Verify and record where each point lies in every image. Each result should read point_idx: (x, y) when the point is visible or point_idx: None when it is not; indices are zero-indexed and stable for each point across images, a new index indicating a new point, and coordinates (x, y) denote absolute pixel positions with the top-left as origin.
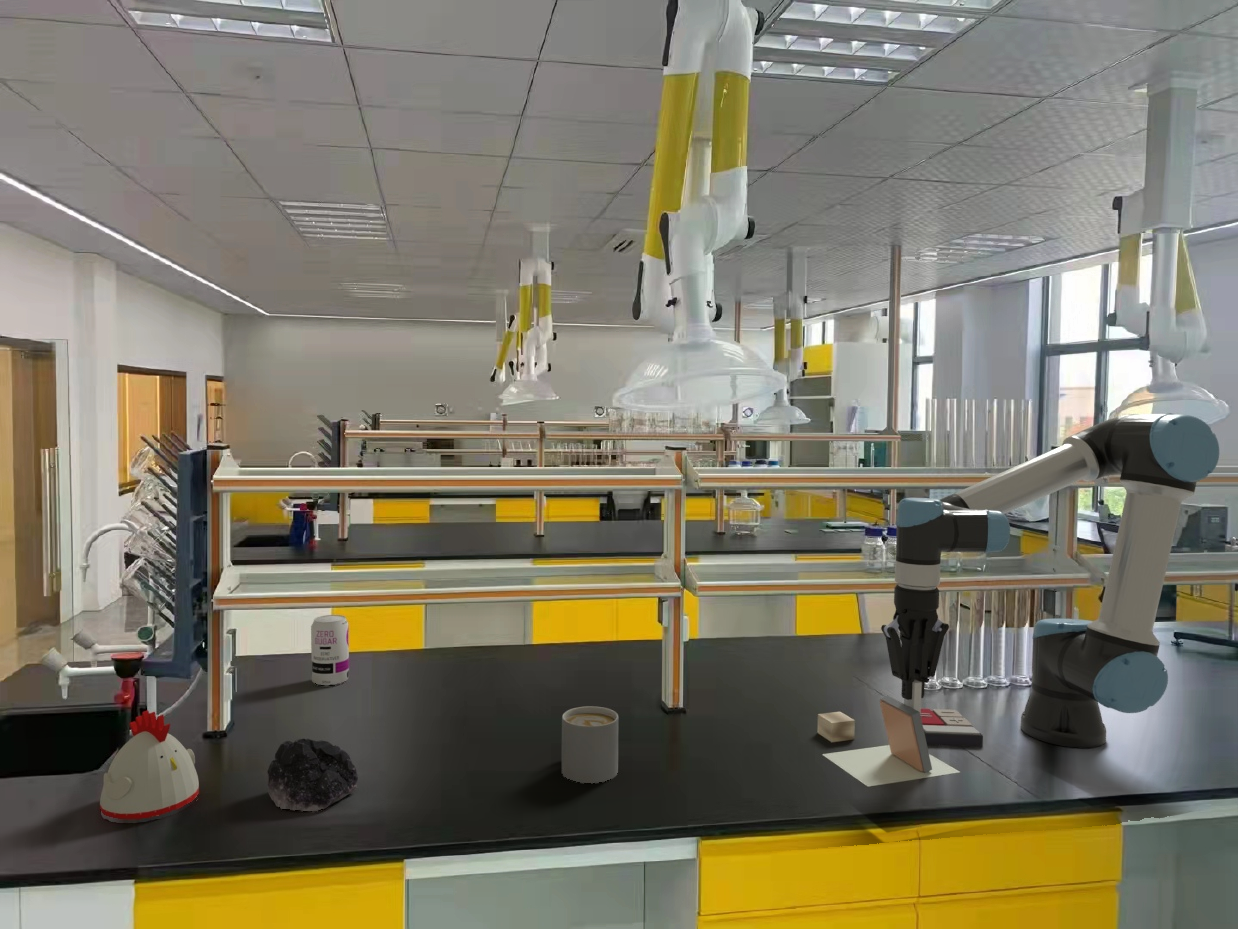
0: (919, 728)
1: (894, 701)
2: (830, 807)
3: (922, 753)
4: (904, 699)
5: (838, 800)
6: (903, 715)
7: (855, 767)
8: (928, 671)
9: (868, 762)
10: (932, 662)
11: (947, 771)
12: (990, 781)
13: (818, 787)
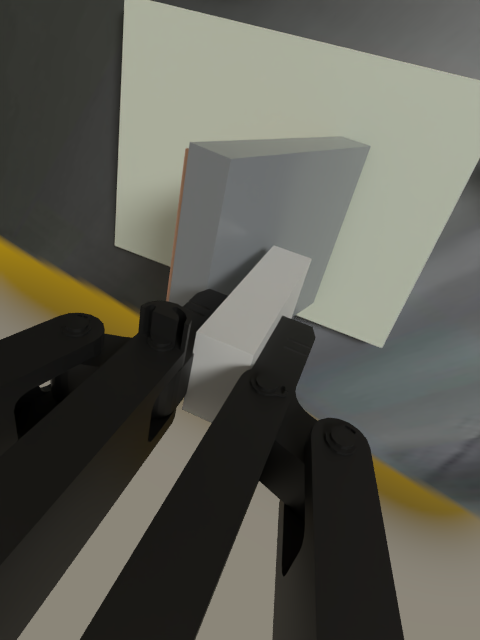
0: None
1: (201, 242)
2: (29, 231)
3: None
4: (250, 273)
5: (56, 221)
6: None
7: (155, 148)
8: (281, 501)
9: None
10: (276, 598)
11: (354, 324)
12: (435, 391)
13: (47, 147)
